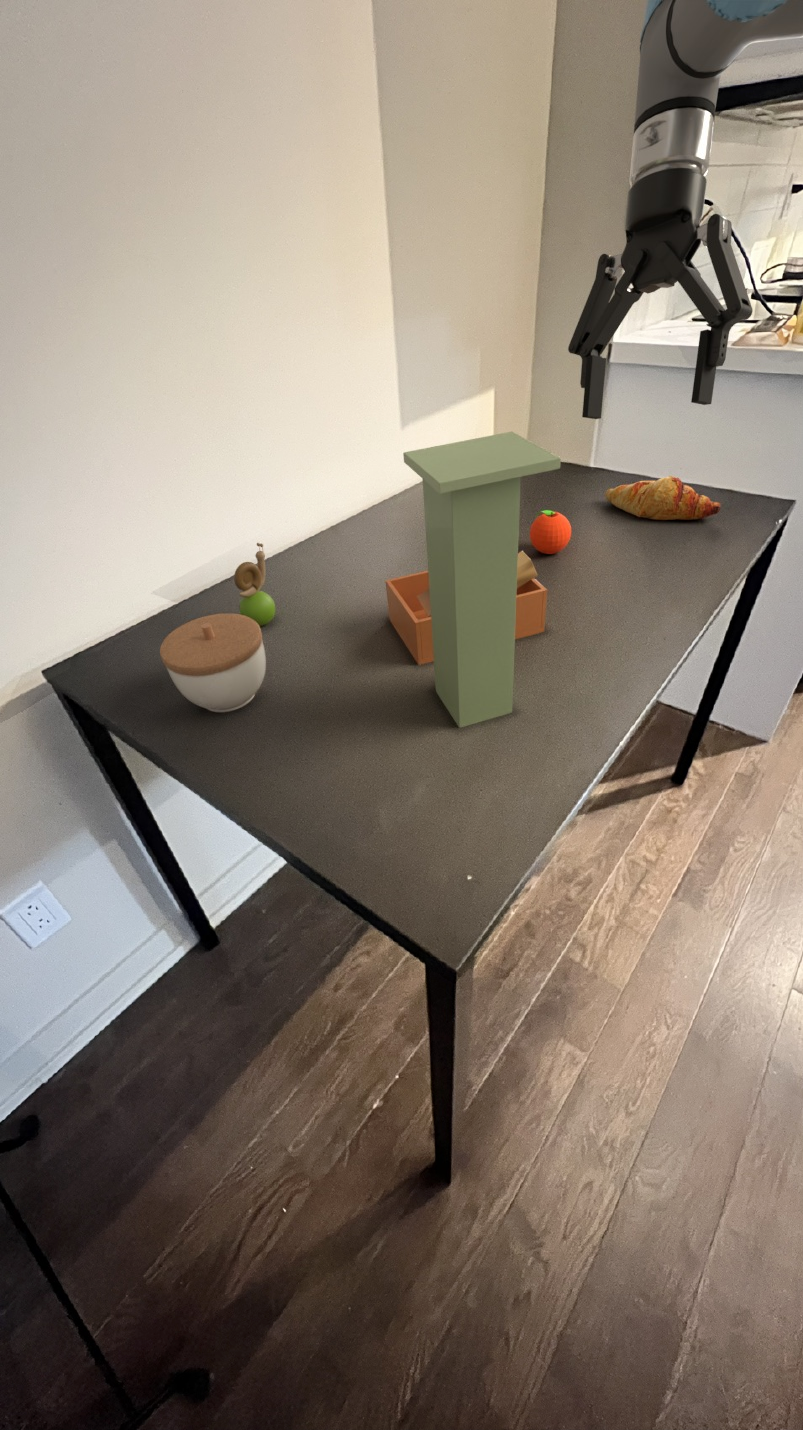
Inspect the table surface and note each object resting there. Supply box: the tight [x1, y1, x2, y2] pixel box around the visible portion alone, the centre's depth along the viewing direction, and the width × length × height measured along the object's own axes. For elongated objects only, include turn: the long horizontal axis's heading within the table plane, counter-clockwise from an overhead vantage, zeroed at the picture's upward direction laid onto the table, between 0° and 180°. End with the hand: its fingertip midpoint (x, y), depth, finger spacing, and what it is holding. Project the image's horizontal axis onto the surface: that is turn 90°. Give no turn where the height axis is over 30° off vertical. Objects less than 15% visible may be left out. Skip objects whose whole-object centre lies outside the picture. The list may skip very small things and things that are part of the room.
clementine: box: [529, 509, 572, 555], centre depth 107 cm, size 8×7×7 cm
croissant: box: [604, 475, 722, 521], centre depth 116 cm, size 21×10×8 cm, turn 53°
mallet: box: [417, 550, 539, 617], centre depth 88 cm, size 16×6×5 cm, turn 105°
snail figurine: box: [233, 542, 276, 627], centre depth 95 cm, size 5×6×12 cm
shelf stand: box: [403, 431, 562, 728], centre depth 69 cm, size 12×10×30 cm
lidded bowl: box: [159, 613, 267, 713], centre depth 80 cm, size 13×13×11 cm
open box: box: [385, 570, 548, 666], centre depth 90 cm, size 19×13×7 cm
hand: (642, 411), depth 70 cm, fingers open, 13 cm apart
